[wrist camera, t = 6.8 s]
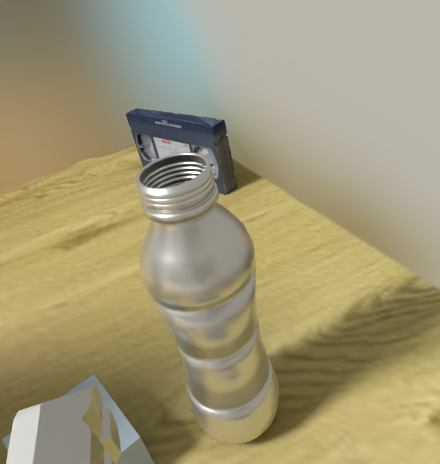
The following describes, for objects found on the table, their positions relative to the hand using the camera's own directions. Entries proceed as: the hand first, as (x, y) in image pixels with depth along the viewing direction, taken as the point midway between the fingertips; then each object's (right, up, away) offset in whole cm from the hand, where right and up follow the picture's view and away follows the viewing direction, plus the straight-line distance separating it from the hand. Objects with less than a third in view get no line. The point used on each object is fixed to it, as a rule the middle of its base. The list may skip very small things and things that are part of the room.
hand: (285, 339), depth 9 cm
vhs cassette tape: (-6, +10, +55) cm, 56 cm away
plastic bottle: (0, -11, +22) cm, 25 cm away
